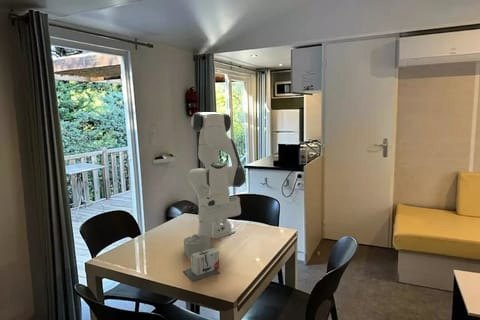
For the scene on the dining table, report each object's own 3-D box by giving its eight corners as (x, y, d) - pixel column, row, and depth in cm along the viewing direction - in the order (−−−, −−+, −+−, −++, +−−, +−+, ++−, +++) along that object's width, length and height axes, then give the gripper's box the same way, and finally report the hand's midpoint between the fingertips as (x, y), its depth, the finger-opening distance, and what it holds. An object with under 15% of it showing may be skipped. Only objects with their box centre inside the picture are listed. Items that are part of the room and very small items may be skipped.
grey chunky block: (183, 251, 178) (182, 235, 176) (207, 247, 182) (207, 231, 181) (187, 259, 168) (186, 242, 167) (213, 254, 172) (212, 238, 171)
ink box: (219, 268, 155) (196, 276, 148) (214, 264, 159) (191, 272, 153) (219, 250, 154) (195, 257, 147) (213, 247, 158) (190, 254, 151)
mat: (208, 264, 161) (208, 263, 161) (219, 273, 152) (219, 272, 152) (183, 271, 154) (183, 270, 154) (193, 281, 145) (193, 280, 145)
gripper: (236, 193, 162) (237, 221, 164) (196, 200, 152) (198, 230, 154) (243, 196, 157) (244, 224, 159) (202, 203, 146) (204, 234, 149)
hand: (221, 227), depth 156 cm, fingers closed
